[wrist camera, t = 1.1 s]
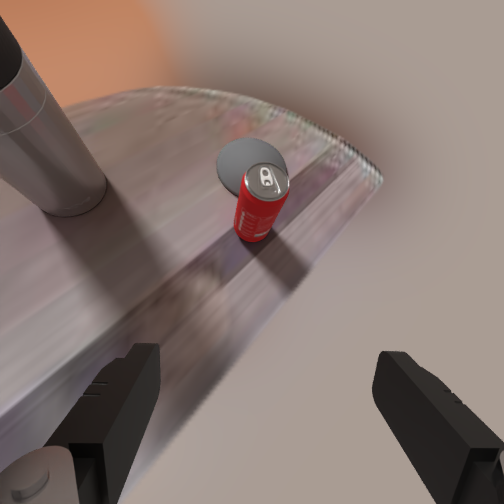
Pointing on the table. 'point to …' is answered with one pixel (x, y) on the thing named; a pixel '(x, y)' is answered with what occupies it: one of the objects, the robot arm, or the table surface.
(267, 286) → the table surface
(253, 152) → the rubber mat
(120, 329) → the table surface
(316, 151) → the table surface
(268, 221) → the beverage can
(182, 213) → the table surface
